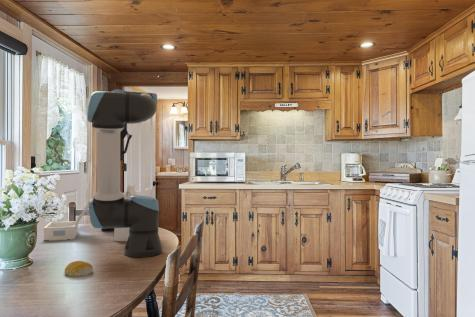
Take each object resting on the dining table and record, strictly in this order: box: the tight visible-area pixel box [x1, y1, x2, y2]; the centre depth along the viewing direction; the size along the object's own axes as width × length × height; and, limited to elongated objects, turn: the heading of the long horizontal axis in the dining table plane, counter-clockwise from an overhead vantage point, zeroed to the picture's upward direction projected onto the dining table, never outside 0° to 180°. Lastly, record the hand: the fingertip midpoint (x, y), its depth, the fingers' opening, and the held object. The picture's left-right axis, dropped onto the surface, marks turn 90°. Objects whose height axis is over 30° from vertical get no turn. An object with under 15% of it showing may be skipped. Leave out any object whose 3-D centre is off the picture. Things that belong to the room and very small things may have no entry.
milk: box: [113, 184, 141, 242], centre depth 174 cm, size 12×12×26 cm
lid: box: [74, 197, 93, 226], centre depth 179 cm, size 16×13×1 cm
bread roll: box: [63, 260, 94, 278], centre depth 120 cm, size 8×9×4 cm
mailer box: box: [43, 220, 79, 241], centre depth 176 cm, size 16×13×6 cm
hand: (118, 167), depth 182 cm, fingers closed
